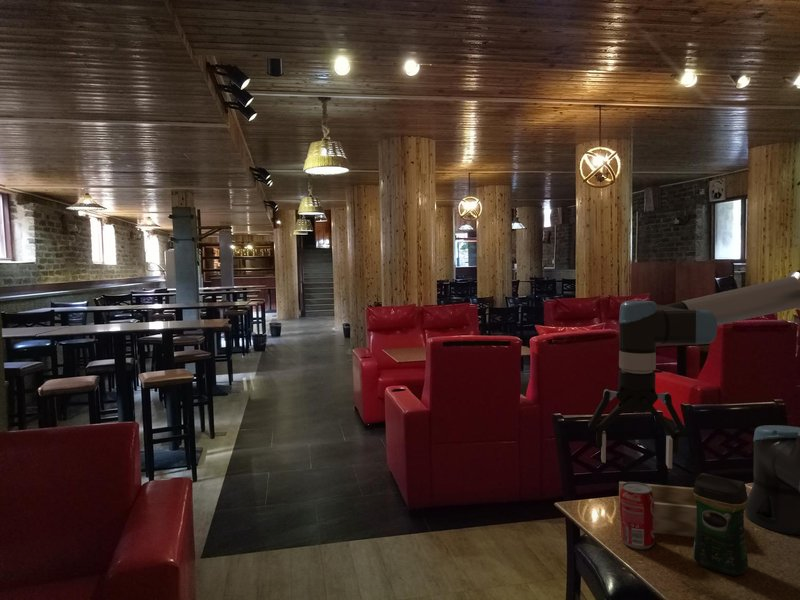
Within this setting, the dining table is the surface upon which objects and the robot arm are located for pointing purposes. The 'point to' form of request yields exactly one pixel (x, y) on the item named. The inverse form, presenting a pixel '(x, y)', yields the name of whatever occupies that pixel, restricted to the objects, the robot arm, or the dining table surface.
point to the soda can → (637, 515)
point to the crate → (673, 510)
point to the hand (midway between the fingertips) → (635, 463)
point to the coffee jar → (720, 524)
